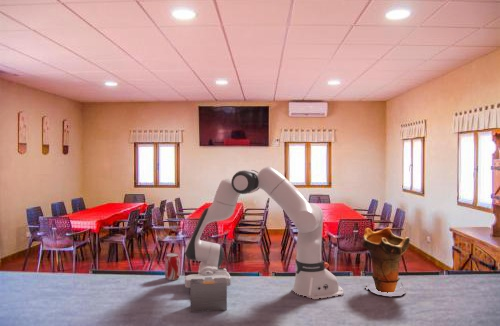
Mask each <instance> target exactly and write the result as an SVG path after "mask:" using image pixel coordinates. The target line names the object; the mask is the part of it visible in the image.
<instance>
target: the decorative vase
mask: <svg viewBox="0 0 500 326" xmlns="http://www.w3.org/2000/svg"><path fill="white" fill-rule="evenodd" d="M362 238H363V240H362V247H363V248H365V249H366V250H367V251H368V252H369V254H370V259H371V268H372V272H373V273H372V275H371V276H372V279H373V281H374V283H375V287H376V289H377V290H378V291H381V292H387V293H388V292H394V291H395V289H396V286H398V282H399V280H400V277H399V271H400V260H401V257H402V256H403V255H404V254H405V253H406V252H407V250H409V246H410V237H409V236H405V237H401V236H398V235H395V234H394V233H393V232H392V230H391V227H390V226H387V227H385V228H382V229H380V230H378V231H373V230H372V229H371V228H369V227H366V228H365V229H364V231H363V236H362ZM400 284H401V285H402V287H403V289H404V286H403V283H402V282H400ZM404 290H405V289H404Z"/></svg>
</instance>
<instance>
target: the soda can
mask: <svg viewBox="0 0 500 326" xmlns="http://www.w3.org/2000/svg"><path fill="white" fill-rule="evenodd" d="M180 259H181V258H180V256H179V253H177V252H170V253H169V252H168V253H167V254H166V256H165V261H164V272H165V273H164V274H165V276H164V277H165V279H166V280H167V281H176V280H178V279H179V278H180V277H181V275H180V274H181V273H180V272H181V269H180V268H181V267H180V266H181V263H180V262H181V261H180Z"/></svg>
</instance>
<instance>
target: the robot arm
mask: <svg viewBox="0 0 500 326" xmlns="http://www.w3.org/2000/svg"><path fill="white" fill-rule="evenodd" d="M260 189H261V190H262V191H264V192H265V193H266V194H267V195H268V196H269V197H270V198H271V199H272V200H273V201H274V202H275V203H276V204H277V205H278V206H279V207H280V208H281V209H282V210H283V211H284V212H285V214H286V216H287V217H288V218H289V220H290V222H292V223H293V224H294V226H295V228H296V229H297V239H296V258H295V263H294V271H295V277H294V283H293V286H292V292H293V291H294V292H295V293H294V292H293V293H294V294H296V293H297V294H296V295H298V294H299V295H298V296H300V295H303V296H302V297H304V296H307V297H306V298H309V299H311V298H312V299H311V300H319V298H321V299H326V298H327V297H328V298H333V297H332V296H335V297H339V296H338V295H341V296H343V295H344V289H343V288H342V287H341V286H340V285H339V282H338V279H337V277H336V275H334V274H333V273H332V272H331V271H329V270H328V268H329V267H330V264H329V263H328V262H326V261H324V260H323V259H322V241H323V240H322V239H323V229H324V228H323V227H324V212H323V210H322V208H321V207H320V206H319V204H316V203H314V202H312V203H311V202H308V201H307V200H306V198H305V197H304V196H303V194H302V193H301V192H300V190H299V189H298V188H297V187H296V186H295V185H294V184H293V183H291V181H290V180H288V178H287V177H285V176H284V175H283V174H282V173H280V172H279V171H278V170H276V169H275V168H273V167H271V166H266V167H263V168H262V169H261V170H260V171H257V170H253V169H251V170H250V169H242V170H239V171H237V172H236V173H234V175H233V176H232V177H231V179H230V178H225V179H222V180H221V181H220V183H219V185H218V187H217V189H216V193H215V194H214V198H213V202H212V203H211V205H209V207H206V208H205V209H203V212H201V215H200V217H199V219H198V221H197V223H196V225H195V228H194V230H193V232H192V235H191V236H190V238H189V240H188V241H187V243H186V245H185V248H184V255H185V257H187V259H188V260H189V261H198V262H200V263H199V266H198V273H197V274H194V273H193V274H188V275H187V276H185V277H184V287H185V288H187V289H190V284H191V279H203V281H205V277H212V281H214V278H226V281H227V287H230V286H231V285H232V284H231V283H232V276H231V275H230V273H229V272H228V271H227V269H226V268H224V267H221V266H222V264H223V261H224V257H225V256H224V252H225V251H224V248H223V246H222V245H221V243H215V242H211V241H207V240H206V241H205V240H201V236H202V234H203V232H204V230H205V228H206V226H207V225H208V224H210V223H214V222H220V221H225V220H228V219H230V218H231V217H232V216H233V215H234V213H235V211H236V208H237V204H238V200H239V197H240V195H246V194H252V193H255V192H258V190H260Z"/></svg>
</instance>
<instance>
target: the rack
mask: <svg viewBox="0 0 500 326" xmlns="http://www.w3.org/2000/svg"><path fill="white" fill-rule="evenodd" d="M189 289H190V297H189V298H190V300H189V301H190V313H200V312H220V311H222V312H223V311H228V297H227V296H228V294H227V293H228V292H227V291H228V286H227V281H226V278H214V281H203V279H191V284H190V288H189Z"/></svg>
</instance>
